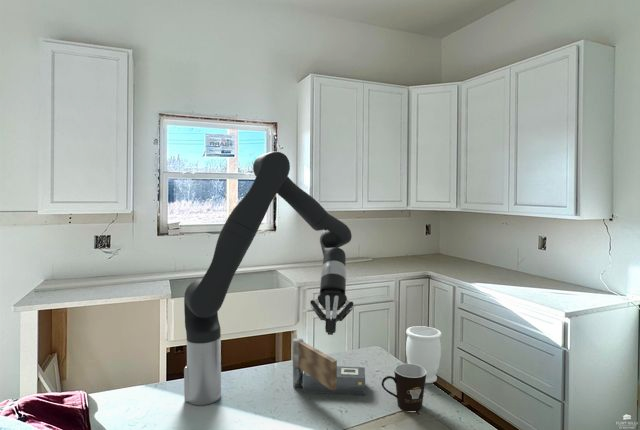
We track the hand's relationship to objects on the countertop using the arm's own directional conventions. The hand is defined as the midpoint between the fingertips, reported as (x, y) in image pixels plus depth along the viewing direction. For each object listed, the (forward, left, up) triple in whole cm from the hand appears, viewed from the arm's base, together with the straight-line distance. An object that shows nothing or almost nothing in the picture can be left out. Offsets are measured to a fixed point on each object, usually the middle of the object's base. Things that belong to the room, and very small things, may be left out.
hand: (330, 333), depth 106 cm
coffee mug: (+20, +2, -20) cm, 29 cm away
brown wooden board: (-5, +3, -14) cm, 15 cm away
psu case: (+1, +10, -20) cm, 22 cm away
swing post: (-10, +10, -20) cm, 24 cm away
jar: (+28, +19, -20) cm, 39 cm away
